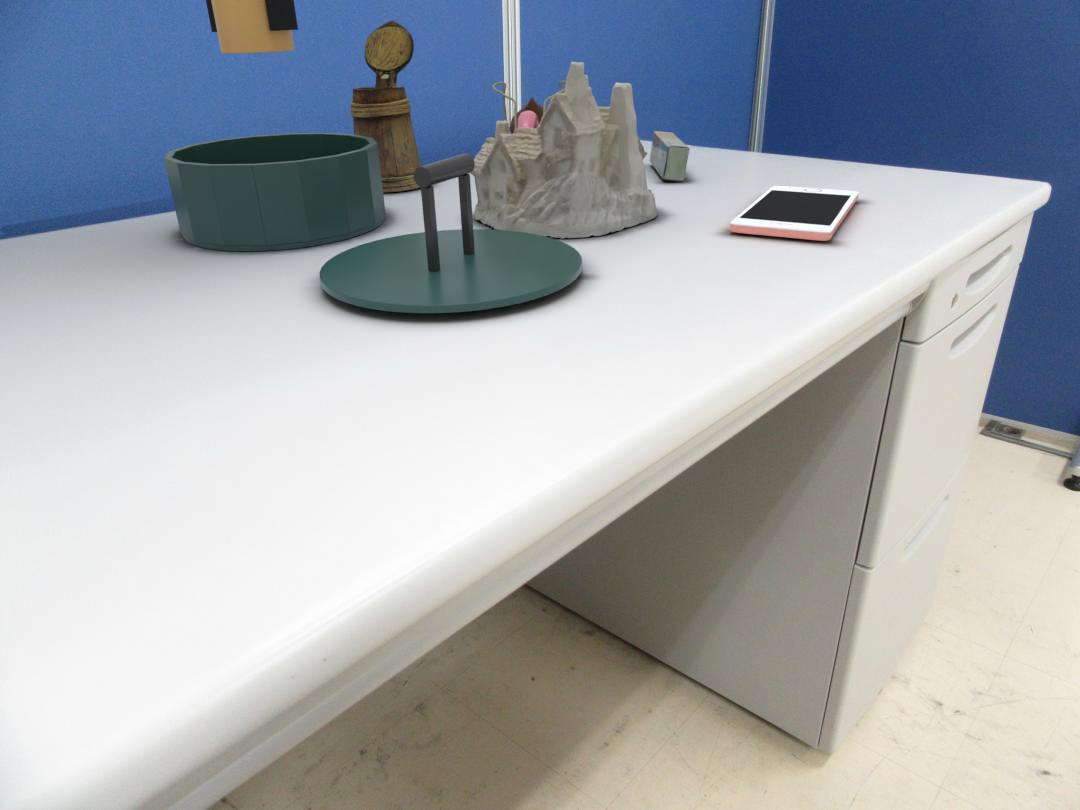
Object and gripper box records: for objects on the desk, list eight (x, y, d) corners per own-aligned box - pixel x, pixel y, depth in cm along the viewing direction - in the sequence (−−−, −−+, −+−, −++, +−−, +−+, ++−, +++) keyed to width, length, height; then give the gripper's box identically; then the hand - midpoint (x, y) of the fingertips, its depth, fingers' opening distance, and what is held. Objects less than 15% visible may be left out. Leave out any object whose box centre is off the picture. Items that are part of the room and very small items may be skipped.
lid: (263, 298, 59) (240, 175, 55) (421, 233, 75) (412, 134, 71) (501, 340, 50) (494, 198, 46) (621, 256, 66) (624, 145, 62)
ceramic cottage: (680, 213, 78) (677, 48, 72) (555, 252, 69) (538, 67, 63) (576, 200, 89) (565, 56, 83) (456, 232, 80) (434, 73, 74)
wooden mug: (441, 171, 103) (428, 19, 95) (417, 193, 91) (401, 20, 83) (374, 172, 104) (357, 21, 96) (342, 193, 92) (319, 23, 84)
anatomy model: (478, 159, 92) (486, 50, 96) (495, 217, 105) (500, 119, 109) (566, 158, 91) (569, 48, 95) (571, 216, 104) (574, 118, 108)
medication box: (685, 182, 93) (690, 147, 91) (662, 181, 93) (667, 145, 91) (668, 162, 104) (673, 130, 102) (648, 161, 104) (652, 129, 102)
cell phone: (858, 199, 82) (859, 190, 82) (829, 242, 68) (830, 231, 67) (772, 193, 86) (773, 184, 85) (728, 232, 72) (728, 222, 71)
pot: (139, 238, 76) (118, 158, 72) (283, 198, 91) (271, 129, 88) (291, 260, 67) (276, 171, 64) (422, 212, 83) (415, 137, 79)
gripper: (327, -309, 60) (366, 27, 70) (153, -265, 68) (211, 31, 78) (253, -343, 54) (307, 30, 64) (73, -290, 62) (146, 34, 72)
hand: (254, 30), depth 71 cm, fingers closed on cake, 6 cm apart
